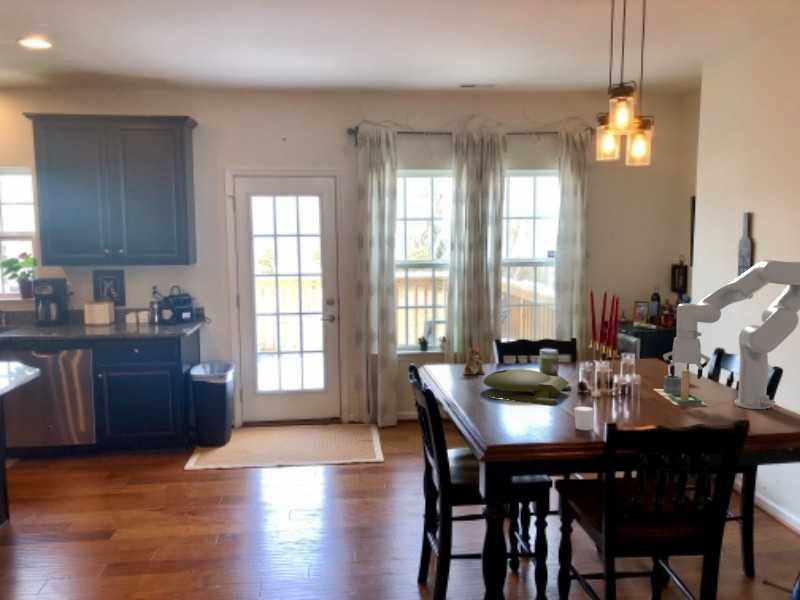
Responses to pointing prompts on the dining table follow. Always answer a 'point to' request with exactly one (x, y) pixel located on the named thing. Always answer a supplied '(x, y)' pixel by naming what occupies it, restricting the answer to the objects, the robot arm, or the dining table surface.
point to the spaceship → (526, 385)
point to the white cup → (678, 368)
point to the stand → (677, 392)
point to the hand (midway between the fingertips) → (685, 377)
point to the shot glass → (584, 417)
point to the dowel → (685, 385)
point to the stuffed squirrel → (474, 362)
